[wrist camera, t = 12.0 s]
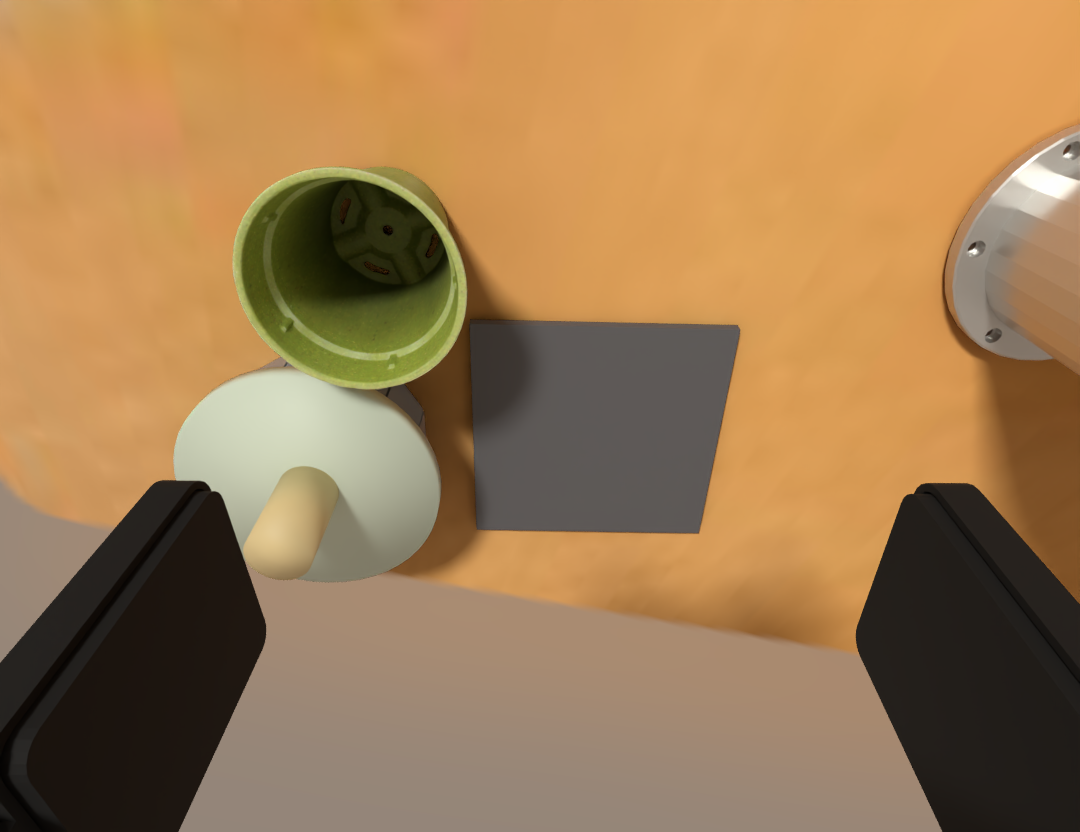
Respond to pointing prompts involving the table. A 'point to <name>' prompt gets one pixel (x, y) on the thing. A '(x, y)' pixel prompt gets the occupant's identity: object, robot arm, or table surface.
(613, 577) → the table surface
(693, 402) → the mat
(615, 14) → the table surface
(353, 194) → the plant pot
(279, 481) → the lid
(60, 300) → the table surface
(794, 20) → the table surface
